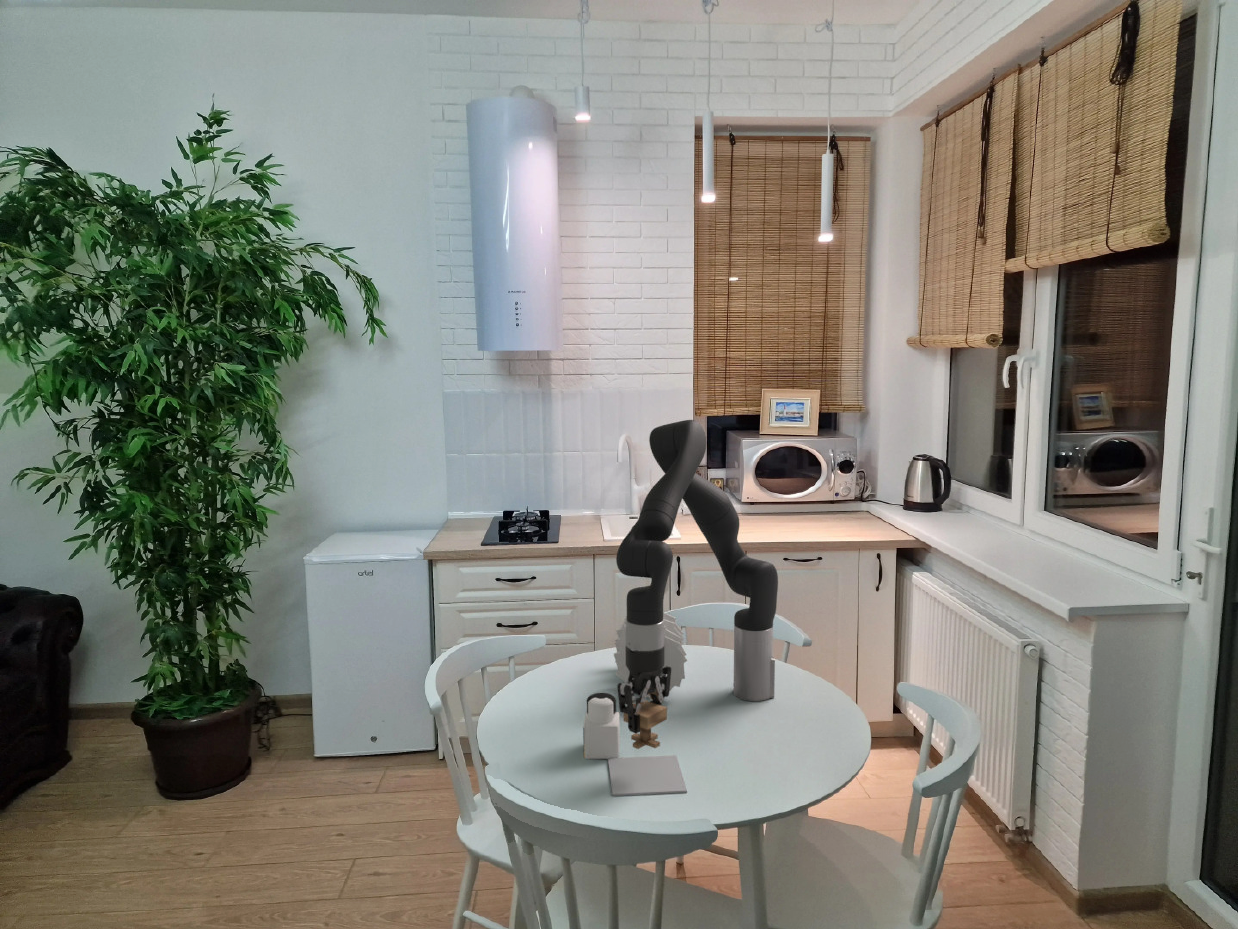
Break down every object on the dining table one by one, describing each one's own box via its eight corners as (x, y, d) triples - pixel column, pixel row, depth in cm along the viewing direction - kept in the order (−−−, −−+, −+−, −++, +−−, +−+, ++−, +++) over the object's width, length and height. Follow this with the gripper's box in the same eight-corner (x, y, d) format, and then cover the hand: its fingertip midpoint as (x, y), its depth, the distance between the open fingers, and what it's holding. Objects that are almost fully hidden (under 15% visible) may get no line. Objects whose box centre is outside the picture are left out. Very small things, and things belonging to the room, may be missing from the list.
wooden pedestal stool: (643, 732, 167) (642, 699, 166) (666, 741, 163) (666, 707, 162) (623, 743, 162) (623, 709, 161) (647, 752, 158) (647, 717, 157)
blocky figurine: (586, 743, 177) (585, 689, 176) (619, 743, 177) (619, 689, 176) (583, 759, 170) (582, 703, 169) (618, 759, 170) (618, 703, 168)
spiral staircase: (664, 680, 222) (669, 716, 197) (604, 652, 221) (601, 685, 196) (694, 619, 220) (703, 647, 195) (633, 591, 220) (634, 616, 195)
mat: (676, 757, 171) (676, 755, 171) (687, 792, 157) (687, 790, 157) (608, 760, 170) (607, 758, 170) (612, 796, 156) (612, 794, 156)
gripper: (652, 629, 168) (653, 709, 170) (605, 648, 157) (606, 733, 159) (683, 637, 163) (682, 719, 165) (636, 657, 152) (636, 745, 154)
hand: (645, 725), depth 162 cm, fingers closed on wooden pedestal stool, 6 cm apart
